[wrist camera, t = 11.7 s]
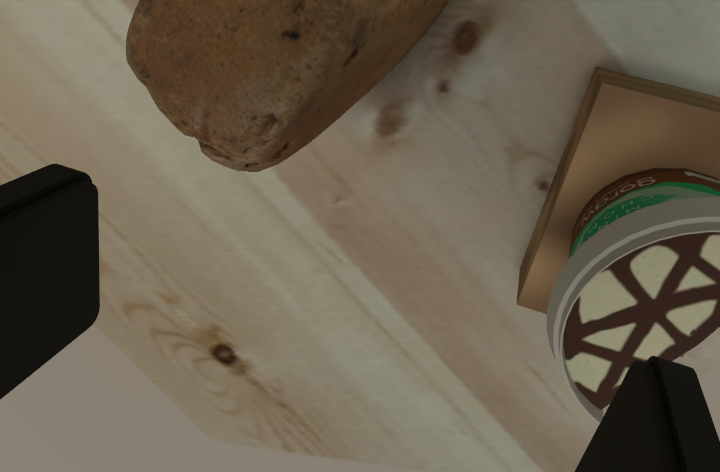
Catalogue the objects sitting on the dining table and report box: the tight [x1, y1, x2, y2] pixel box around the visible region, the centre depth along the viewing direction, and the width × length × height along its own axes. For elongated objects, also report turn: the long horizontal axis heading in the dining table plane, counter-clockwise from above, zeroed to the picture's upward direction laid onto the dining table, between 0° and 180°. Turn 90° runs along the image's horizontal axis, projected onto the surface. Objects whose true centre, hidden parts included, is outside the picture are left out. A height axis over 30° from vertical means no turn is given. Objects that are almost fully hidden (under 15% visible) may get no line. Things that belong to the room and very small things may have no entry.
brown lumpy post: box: [126, 0, 448, 172], centre depth 29 cm, size 11×8×20 cm
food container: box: [547, 168, 720, 424], centre depth 29 cm, size 12×6×10 cm, turn 146°
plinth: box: [517, 67, 720, 357], centre depth 35 cm, size 14×10×5 cm
